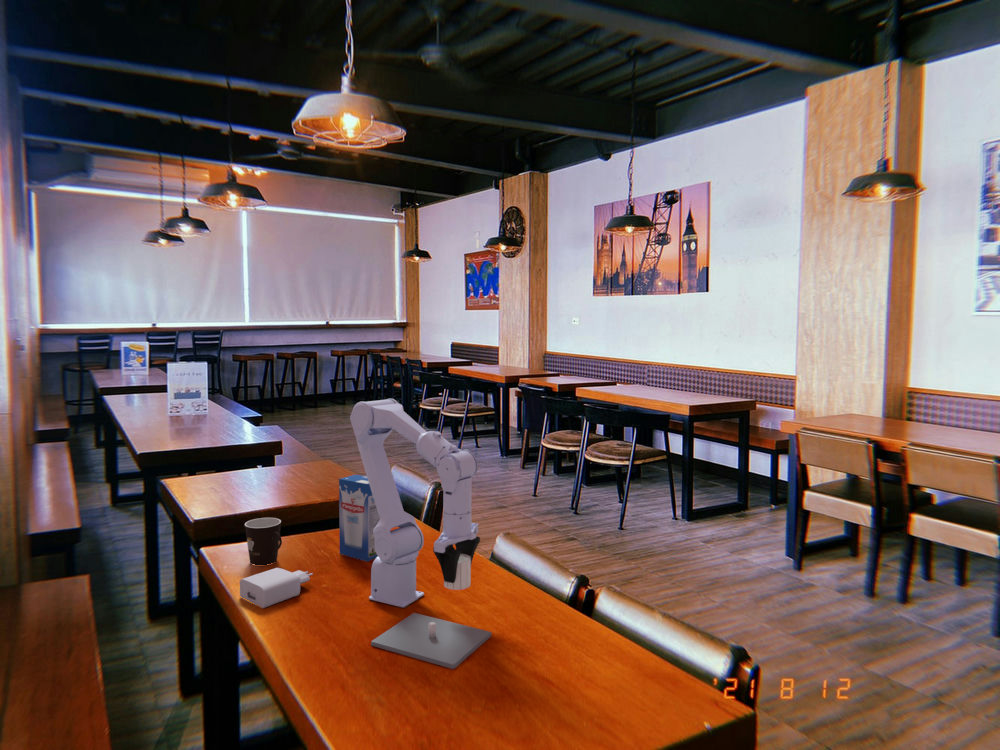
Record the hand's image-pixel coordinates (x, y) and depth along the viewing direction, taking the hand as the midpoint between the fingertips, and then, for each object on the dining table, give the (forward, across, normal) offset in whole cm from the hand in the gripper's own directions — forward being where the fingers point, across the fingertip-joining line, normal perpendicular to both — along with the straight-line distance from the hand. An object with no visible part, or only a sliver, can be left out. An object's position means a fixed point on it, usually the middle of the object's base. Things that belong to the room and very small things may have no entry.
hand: (457, 576), depth 134 cm
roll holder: (+9, -10, 0) cm, 13 cm away
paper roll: (+2, 0, 0) cm, 2 cm away
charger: (+9, -6, +41) cm, 43 cm away
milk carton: (+9, +21, +41) cm, 47 cm away
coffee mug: (+9, +5, +58) cm, 59 cm away
